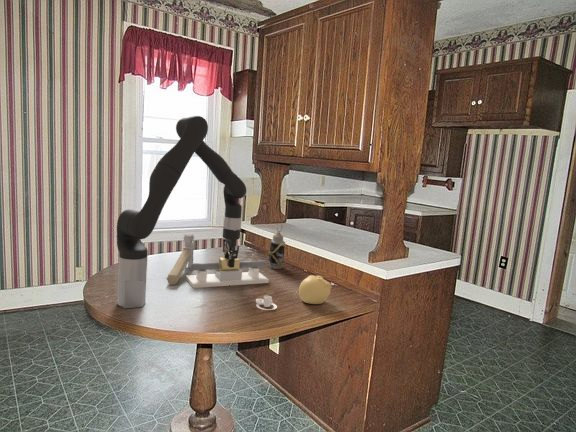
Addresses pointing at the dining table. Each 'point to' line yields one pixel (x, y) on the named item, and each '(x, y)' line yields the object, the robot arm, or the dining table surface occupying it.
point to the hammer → (182, 260)
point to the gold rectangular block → (225, 264)
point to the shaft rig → (226, 275)
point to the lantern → (276, 251)
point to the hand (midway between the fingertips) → (229, 265)
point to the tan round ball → (314, 289)
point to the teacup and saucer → (265, 303)
